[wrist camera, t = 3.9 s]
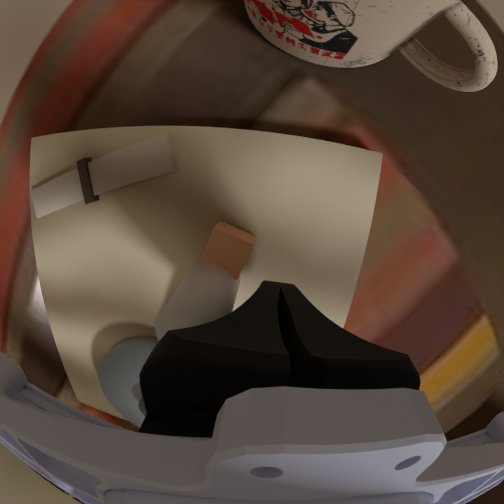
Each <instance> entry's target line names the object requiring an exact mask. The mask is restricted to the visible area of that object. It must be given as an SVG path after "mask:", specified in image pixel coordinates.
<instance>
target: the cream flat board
mask: <svg viewBox="0 0 504 504" xmlns="http://www.w3.org/2000/svg"><path fill="white" fill-rule="evenodd" d="M382 156H383V154H382V153H378V152H374V151H370V150H366V149H362V148H358V147H353V146H349V145H344V144H339V143H334V142H329V141H324V140H318V139H313V138H307V137H301V136H294V135H287V134H280V133H272V132H264V131H255V130H245V129H233V128H219V127H200V126H132V127H113V128H100V129H89V130H80V131H71V132H64V133H57V134H50V135H44V136H38V137H33V138H32V139H31V154H30V208H31V223H32V233H33V242H34V250H35V257H36V264H37V270H38V275H39V281H40V286H41V290H42V295H43V299H44V304H45V308H46V312H47V315H48V319H49V323H50V326H51V330H52V333H53V336H54V340H55V343H56V346H57V349H58V352H59V355H60V357H61V360H62V363H63V366H64V368H65V371H66V373H67V376H68V378H69V381H70V383H71V386H72V388H73V390H74V393H75V395H76V397H77V399H78V401H80V402H82V403H84V404H86V405H89V406H91V407H93V408H96V409H98V410H101V411H103V412H106V413H108V414H111V415H113V416H116V417H119V418H122V419H124V420H127V419H126V418H125V417H123V416H122V415H121V414H120V413H119V412H118V411H117V410H116V409H115V408H114V407H113V406H112V405H111V403H110V402H109V401H108V399H107V398H106V396H105V395H104V393H103V391H102V389H101V386H100V383H99V379H98V368H99V365H100V362H101V361H102V359H103V358H104V357H105V355H106V354H107V353H108V351H109V350H110V349H111V348H112V346H114V345H115V344H116V343H117V342H119V341H121V340H124V339H127V338H131V337H155V338H157V336H156V332H155V324H156V320H157V318H158V316H159V315H160V313H161V312H162V310H163V309H164V307H165V306H166V305H167V303H168V302H169V300H170V299H171V297H172V296H173V295H174V293H175V292H176V290H177V289H178V288H179V286H180V285H181V283H182V282H183V281H184V279H185V278H186V276H187V275H188V274H189V272H190V271H191V269H192V268H193V267H194V265H195V264H196V263H197V261H198V260H199V259H201V257H202V255H203V252H204V250H205V247H206V245H207V242H208V240H209V238H210V235H211V233H212V230H213V228H214V226H215V225H216V224H217V223H218V222H219V221H220V220H221V221H223V222H225V223H227V224H230V225H232V226H234V227H236V228H238V229H241V230H243V231H245V232H247V233H250V234H252V235H254V236H256V238H255V242H254V245H253V247H252V250H251V252H250V254H249V256H248V258H247V260H246V262H245V264H244V266H243V269H242V271H241V273H240V277H241V280H240V285H239V289H238V292H237V296H236V300H235V304H234V307H233V311H234V310H235V309H237V308H238V307H239V306H241V305H242V304H243V303H244V302H245V301H246V300H248V299H249V298H250V297H251V296H252V294H253V293H254V292H255V291H256V290H257V289H258V287H259V286H260V284H261V282H262V281H264V280H267V281H275V282H282V283H290V284H294V285H295V286H296V287H297V288H298V289H299V290H300V291H301V292H302V294H303V295H304V296H305V297H306V298H307V299H308V300H309V301H310V302H311V303H312V304H313V305H314V306H315V307H316V308H317V309H318V310H319V311H320V312H322V313H323V314H324V315H325V316H326V317H327V318H329V319H330V320H331V321H333V322H334V323H336V324H337V325H338V326H340V327H341V328H343V327H344V324H345V321H346V318H347V315H348V312H349V308H350V305H351V302H352V298H353V295H354V291H355V288H356V284H357V280H358V277H359V273H360V269H361V265H362V261H363V257H364V253H365V249H366V245H367V240H368V236H369V231H370V227H371V222H372V217H373V212H374V206H375V201H376V195H377V190H378V184H379V177H380V171H381V164H382ZM127 421H128V420H127Z"/></svg>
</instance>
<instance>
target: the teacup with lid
mask: <svg viewBox="0 0 504 504" xmlns="http://www.w3.org/2000/svg"><path fill="white" fill-rule="evenodd" d="M244 2H245V7H246V10H247V13H248V16H249V18H250V20H251V22H252V23H253V25H254V26H255V27H256V29H257V30H258V31H259V32H260V33H261V34H262V35H263V36H264V37H265V38H266V39H267V40H268V41H269V42H271V43H272V44H274V45H275V46H276V47H278V48H280V49H281V50H283V51H285V52H287V53H289V54H291V55H293V56H295V57H297V58H300V59H302V60H305V61H308V62H312V63H315V64H319V65H324V66H330V67H339V68H352V67H361V66H366V65H370V64H373V63H376V62H378V61H380V60H382V59H384V58H386V57H387V56H388V55H390V54H391V53H392V52H393V51H394V50H396V49H398V50H399V51H400V52H401V53H402V54H403V55H404V56H405V57H406V58H407V59H408V60H409V61H410V62H411V63H412V64H413V65H414V66H415V67H416V68H417V69H418V70H419V71H421V72H422V73H423V74H424V75H426V76H427V77H429V78H430V79H432V80H433V81H435V82H437V83H439V84H441V85H443V86H446V87H448V88H451V89H454V90H458V91H465V92H473V91H478V90H481V89H483V88H485V87H486V86H488V85H489V83H490V82H491V81H492V80H493V79H494V77H495V75H496V72H497V56H496V51H495V48H494V45H493V43H492V41H491V39H490V37H489V35H488V33H487V32H486V30H485V29H484V27H483V26H482V25H481V23H480V22H479V21H478V19H477V18H476V17H475V16H474V15H473V13H472V12H471V11H470V10H469V9H468V8H467V7H466V6H465V5H464V4H463V3H462V1H461V0H244ZM441 13H442V14H443V15H444V16H445V17H446V18H447V19H448V20H449V21H450V22H451V23H452V25H453V26H454V27H455V28H456V29H457V30H458V32H459V33H460V34H461V35H462V37H463V38H464V39H465V41H466V42H467V44H468V45H469V47H470V49H471V51H472V54H473V57H474V61H475V70H462V69H457V68H454V67H451V66H449V65H447V64H445V63H443V62H441V61H440V60H438V59H437V58H436V57H434V56H433V55H432V54H431V53H430V52H429V51H427V50H426V49H425V48H424V47H423V46H422V45H421V44H420V43H419V42H418V41H417V39H416V38H415V37H414V36H413V35H414V34H415V33H417V32H418V31H419V30H420V29H422V28H423V27H424V26H426V25H427V24H428V23H429V22H431V21H432V20H433V19H435V18H436V17H437V16H439V15H440V14H441Z"/></svg>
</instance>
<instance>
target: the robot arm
mask: <svg viewBox="0 0 504 504" xmlns="http://www.w3.org/2000/svg"><path fill="white" fill-rule="evenodd" d="M139 380H140V388H141V393H142V397H143V402H144V406H145V410H146V416H145V418H144V421H143V423H142V425H141V427H140V429H139V432H134V431H131V430H128V429H125V428H122V427H119V426H117V425H114V424H111V423H109V422H106V421H104V420H101V419H99V418H97V417H94V416H92V415H90V414H87V413H85V412H83V411H81V410H79V409H77V408H74V407H72V406H70V405H68V404H66V403H64V402H62V401H60V400H59V399H57V398H55V397H53V396H51V395H49V394H47V393H46V392H44V391H42V390H40V389H39V388H37V387H35V386H34V385H32V384H30V383H29V382H27V379H26V376H25V374H24V372H23V370H22V368H21V367H20V366H19V364H18V363H17V362H15V361H14V360H13V359H11V358H10V357H8V356H7V355H5V354H4V353H2V352H1V351H0V442H1V443H2V444H3V445H4V446H6V447H7V448H8V449H9V450H10V451H12V452H13V453H14V454H15V455H16V456H17V457H19V458H20V459H21V460H23V461H24V462H25V463H26V464H28V465H29V466H30V467H32V468H33V469H34V470H36V471H37V472H38V473H40V474H41V475H42V476H44V477H45V478H47V479H48V480H50V481H51V482H53V483H54V484H56V485H57V486H59V487H60V488H62V489H63V490H65V491H67V492H68V493H70V494H72V495H73V496H75V497H77V498H78V499H80V500H82V501H84V502H86V503H87V504H465V503H466V502H468V501H470V500H472V499H474V498H476V497H477V496H479V495H481V494H482V493H484V492H486V491H488V490H489V489H491V488H493V487H494V486H496V485H497V484H499V483H500V482H501V481H502V480H504V412H501V413H500V414H498V415H497V416H496V417H495V418H494V419H493V420H492V421H491V422H490V423H489V425H488V426H487V428H486V429H484V430H481V431H478V432H475V433H473V434H470V435H467V436H464V437H461V438H458V439H454V440H451V441H448V442H447V441H446V438H445V436H444V433H443V431H442V429H441V426H440V424H439V422H438V420H437V418H436V416H435V414H434V412H433V409H432V407H431V405H430V403H429V401H428V399H427V397H426V395H425V393H424V391H420V390H419V387H420V377H419V374H418V372H417V370H416V368H415V367H414V365H413V363H412V361H411V359H410V358H409V356H408V355H407V354H403V353H400V352H396V351H393V350H389V349H386V348H383V347H380V346H378V345H375V344H373V343H370V342H368V341H366V340H363V339H361V338H359V337H357V336H355V335H354V334H352V333H350V332H348V331H346V330H345V329H343V328H341V327H340V326H338V325H337V324H336V323H334V322H333V321H331V320H330V319H329V318H327V317H326V316H325V315H324V314H323V313H322V312H320V311H319V310H318V309H317V308H316V307H315V306H314V305H313V304H312V303H311V302H310V301H309V300H308V299H307V298H306V297H305V296H304V295H303V294H302V292H301V291H300V290H299V289H298V288H297V287H296V286H295V285H294V284H290V283H282V282H275V281H267V280H264V281H262V282H261V284H260V286H259V287H258V289H257V290H256V291H255V292H254V293H253V294H252V296H251V297H250V298H249V299H248V300H246V301H245V302H244V303H243V304H242V305H241V306H239V307H238V308H237V309H235V310H234V311H232V312H231V313H229V314H227V315H225V316H223V317H221V318H218V319H216V320H214V321H211V322H208V323H205V324H201V325H198V326H193V327H188V328H182V329H175V330H168V331H167V332H166V334H165V335H164V336H163V337H162V338H161V339H160V340H159V342H158V343H157V344H156V346H155V347H154V348H153V350H152V352H151V353H150V355H149V357H148V358H147V360H146V362H145V363H144V365H143V367H142V370H141V372H140V374H139Z"/></svg>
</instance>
